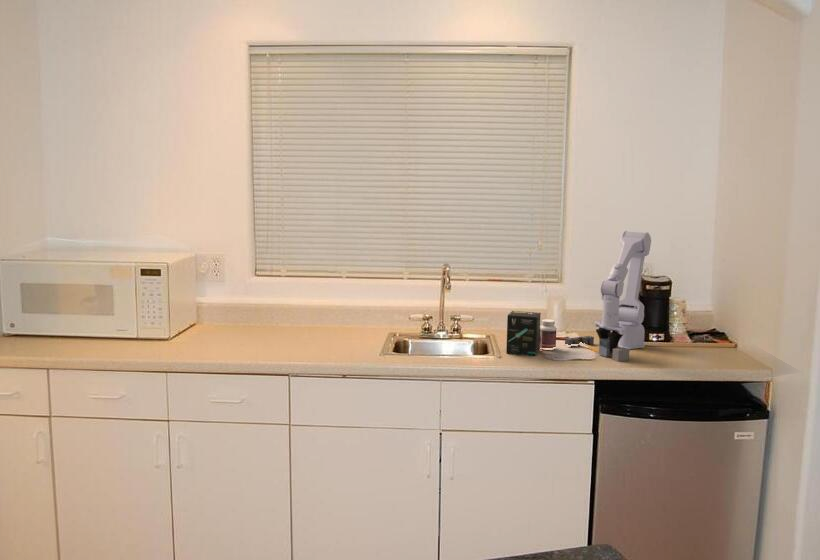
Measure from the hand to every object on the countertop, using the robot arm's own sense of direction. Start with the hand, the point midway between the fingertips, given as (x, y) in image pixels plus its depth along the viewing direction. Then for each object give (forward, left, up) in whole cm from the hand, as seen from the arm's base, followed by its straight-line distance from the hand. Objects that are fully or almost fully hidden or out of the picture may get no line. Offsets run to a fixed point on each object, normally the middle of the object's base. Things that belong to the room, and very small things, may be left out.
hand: (608, 349), depth 261 cm
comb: (0, -16, -2) cm, 17 cm away
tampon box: (+26, -16, -2) cm, 31 cm away
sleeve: (0, 0, -2) cm, 2 cm away
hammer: (0, -5, -2) cm, 5 cm away
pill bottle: (+15, -16, -2) cm, 22 cm away
